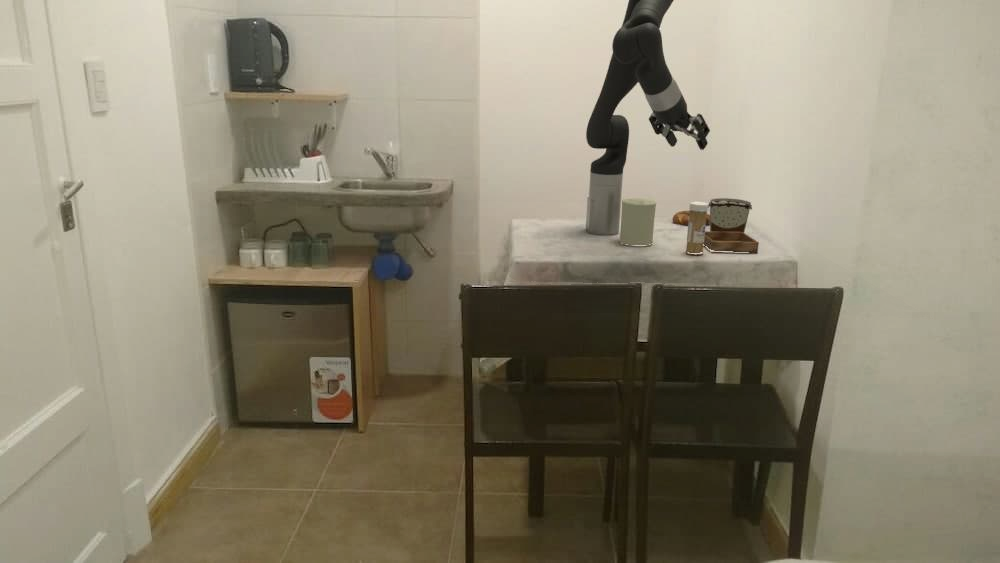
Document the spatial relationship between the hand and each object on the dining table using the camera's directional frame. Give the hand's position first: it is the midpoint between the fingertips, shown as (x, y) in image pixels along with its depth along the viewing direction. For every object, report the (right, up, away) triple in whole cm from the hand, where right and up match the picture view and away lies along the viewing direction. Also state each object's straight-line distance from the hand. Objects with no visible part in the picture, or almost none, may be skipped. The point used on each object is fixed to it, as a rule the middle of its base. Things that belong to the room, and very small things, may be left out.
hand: (688, 145), depth 179 cm
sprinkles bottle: (+4, -26, +12) cm, 29 cm away
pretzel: (+13, -16, +48) cm, 52 cm away
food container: (+20, -20, +35) cm, 45 cm away
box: (+15, -24, +19) cm, 34 cm away
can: (-9, -23, +22) cm, 33 cm away
